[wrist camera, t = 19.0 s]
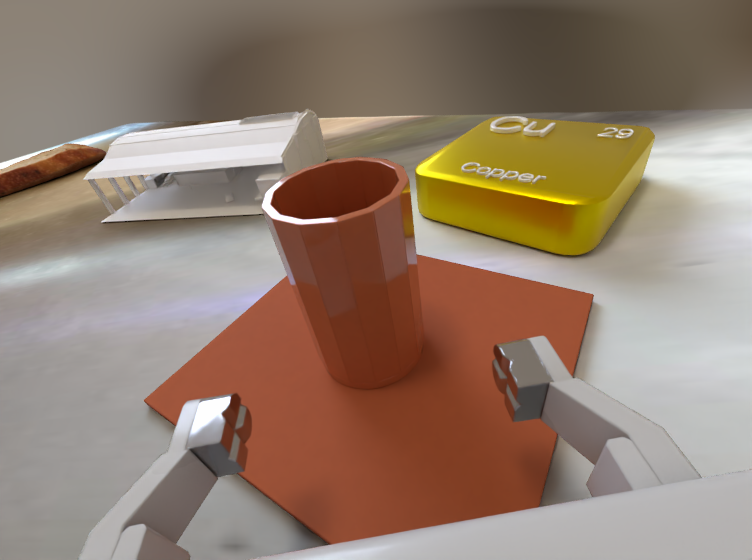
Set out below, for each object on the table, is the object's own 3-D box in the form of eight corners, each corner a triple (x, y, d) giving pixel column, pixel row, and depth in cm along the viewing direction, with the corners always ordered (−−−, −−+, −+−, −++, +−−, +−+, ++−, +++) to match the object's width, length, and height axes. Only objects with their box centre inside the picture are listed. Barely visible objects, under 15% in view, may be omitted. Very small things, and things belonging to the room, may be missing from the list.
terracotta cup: (391, 408, 18) (353, 237, 12) (299, 364, 21) (230, 209, 15) (442, 326, 21) (434, 162, 15) (358, 299, 25) (322, 152, 18)
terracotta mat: (495, 672, 11) (496, 671, 11) (147, 405, 21) (142, 400, 21) (592, 300, 22) (594, 294, 22) (334, 239, 32) (333, 235, 32)
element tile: (409, 215, 33) (403, 164, 30) (489, 154, 41) (491, 109, 38) (586, 265, 24) (603, 200, 21) (645, 176, 32) (664, 119, 29)
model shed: (96, 222, 43) (54, 165, 38) (170, 171, 54) (144, 122, 49) (292, 213, 37) (270, 144, 33) (330, 157, 48) (317, 101, 44)
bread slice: (-58, 212, 55) (-81, 189, 52) (28, 166, 69) (13, 146, 66) (53, 194, 53) (34, 170, 51) (117, 151, 67) (105, 131, 65)
